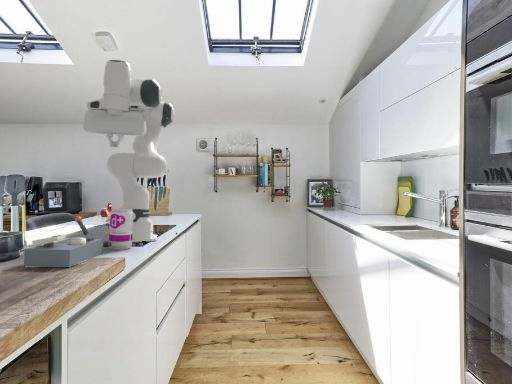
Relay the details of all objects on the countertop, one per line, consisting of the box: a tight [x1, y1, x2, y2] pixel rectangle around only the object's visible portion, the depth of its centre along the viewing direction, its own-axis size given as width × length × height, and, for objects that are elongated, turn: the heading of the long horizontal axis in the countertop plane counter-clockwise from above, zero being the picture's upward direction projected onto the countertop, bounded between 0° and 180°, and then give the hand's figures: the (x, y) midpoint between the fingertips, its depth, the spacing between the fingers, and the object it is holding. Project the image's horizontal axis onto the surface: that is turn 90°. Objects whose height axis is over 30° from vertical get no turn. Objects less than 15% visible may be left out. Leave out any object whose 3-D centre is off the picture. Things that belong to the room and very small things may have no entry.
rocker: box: [31, 234, 66, 245], centre depth 91 cm, size 4×7×1 cm, turn 94°
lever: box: [74, 216, 90, 236], centre depth 103 cm, size 2×2×7 cm
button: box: [71, 236, 86, 245], centre depth 97 cm, size 4×4×4 cm
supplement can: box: [108, 208, 133, 251], centre depth 120 cm, size 8×8×15 cm
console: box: [23, 236, 104, 267], centre depth 97 cm, size 22×12×6 cm, turn 4°
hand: (114, 146), depth 108 cm, fingers closed
